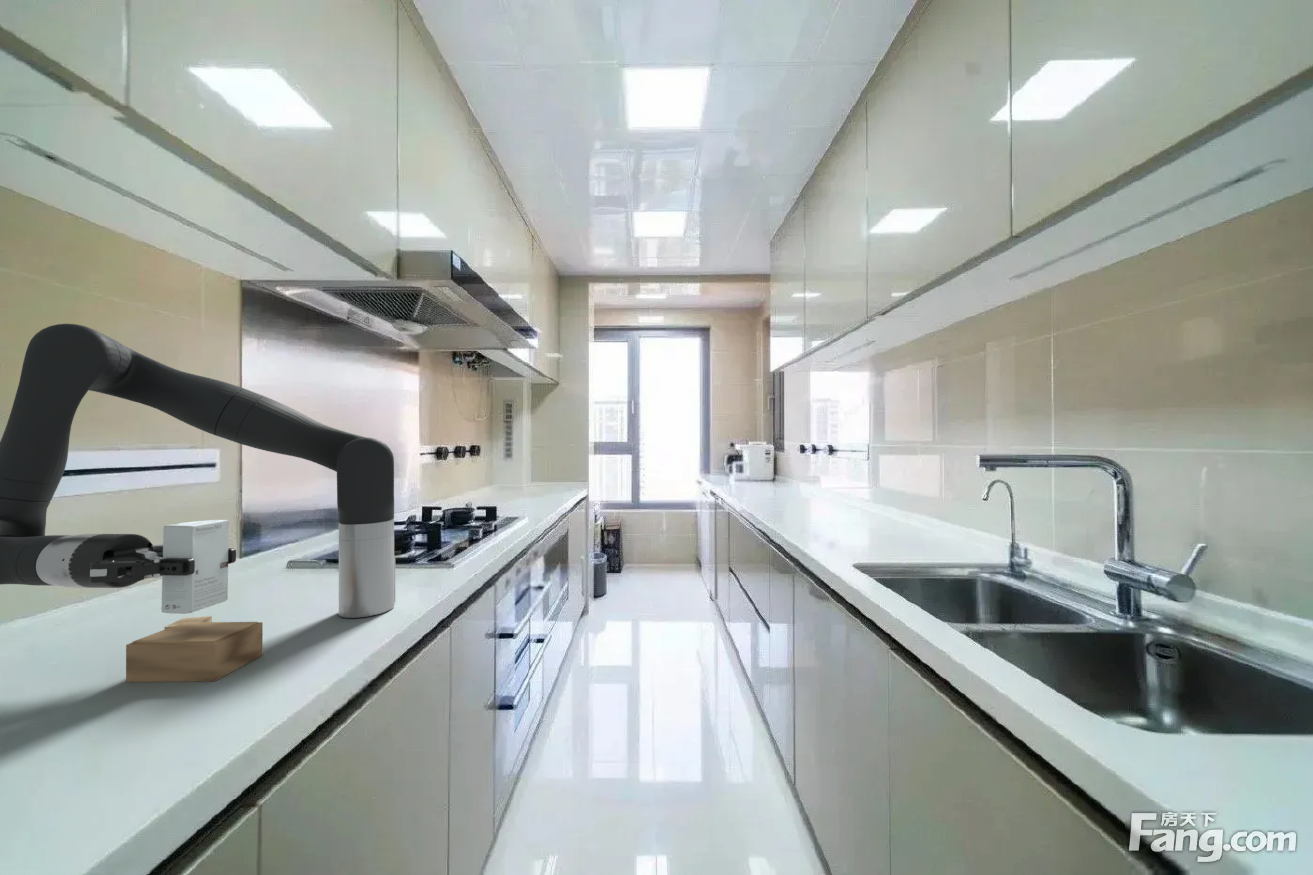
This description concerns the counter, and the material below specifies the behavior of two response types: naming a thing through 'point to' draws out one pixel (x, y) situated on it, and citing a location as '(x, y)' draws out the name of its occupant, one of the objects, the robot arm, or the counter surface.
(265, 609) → the counter surface
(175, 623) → the block
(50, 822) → the counter surface
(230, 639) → the block
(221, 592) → the skincare box
